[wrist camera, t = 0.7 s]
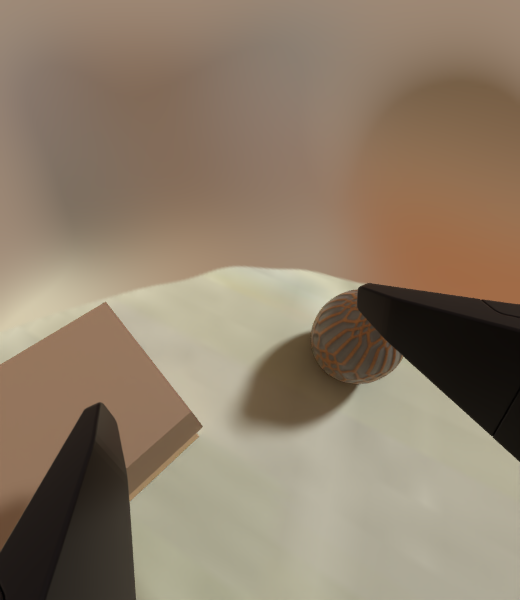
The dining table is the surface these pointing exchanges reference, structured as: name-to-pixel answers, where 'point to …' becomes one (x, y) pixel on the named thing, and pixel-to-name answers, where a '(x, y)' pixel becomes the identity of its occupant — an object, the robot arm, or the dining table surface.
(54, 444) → the lid
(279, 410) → the dining table surface
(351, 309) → the vase
